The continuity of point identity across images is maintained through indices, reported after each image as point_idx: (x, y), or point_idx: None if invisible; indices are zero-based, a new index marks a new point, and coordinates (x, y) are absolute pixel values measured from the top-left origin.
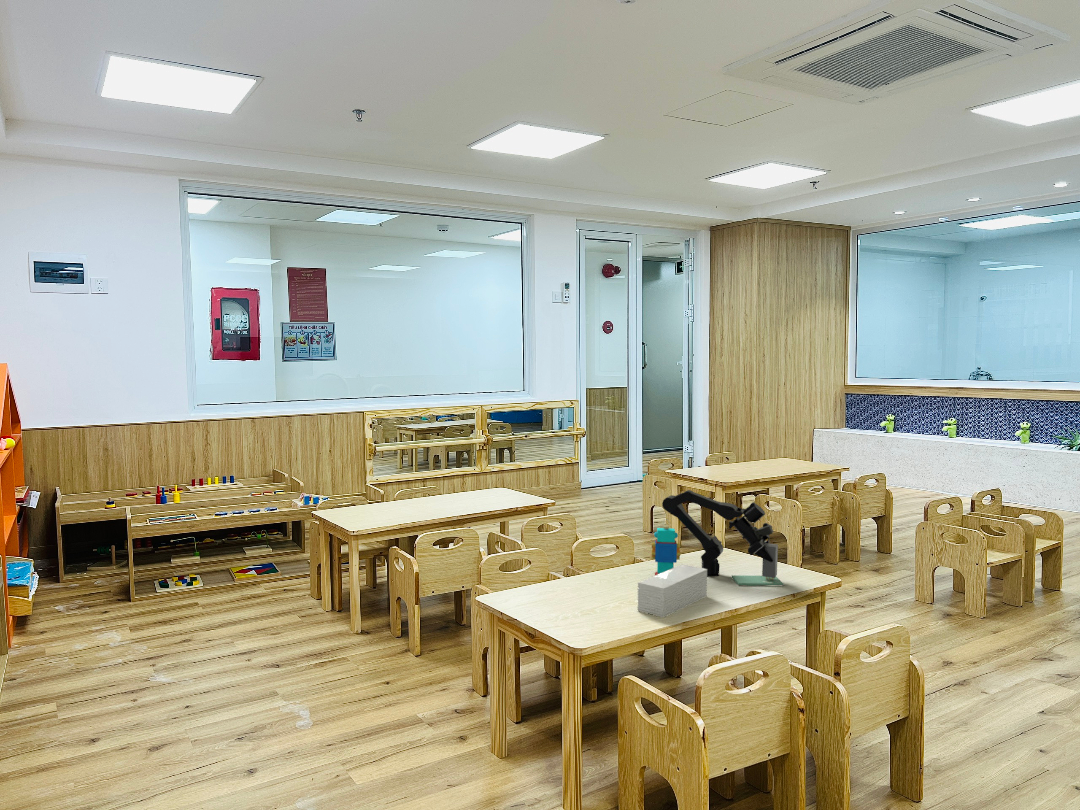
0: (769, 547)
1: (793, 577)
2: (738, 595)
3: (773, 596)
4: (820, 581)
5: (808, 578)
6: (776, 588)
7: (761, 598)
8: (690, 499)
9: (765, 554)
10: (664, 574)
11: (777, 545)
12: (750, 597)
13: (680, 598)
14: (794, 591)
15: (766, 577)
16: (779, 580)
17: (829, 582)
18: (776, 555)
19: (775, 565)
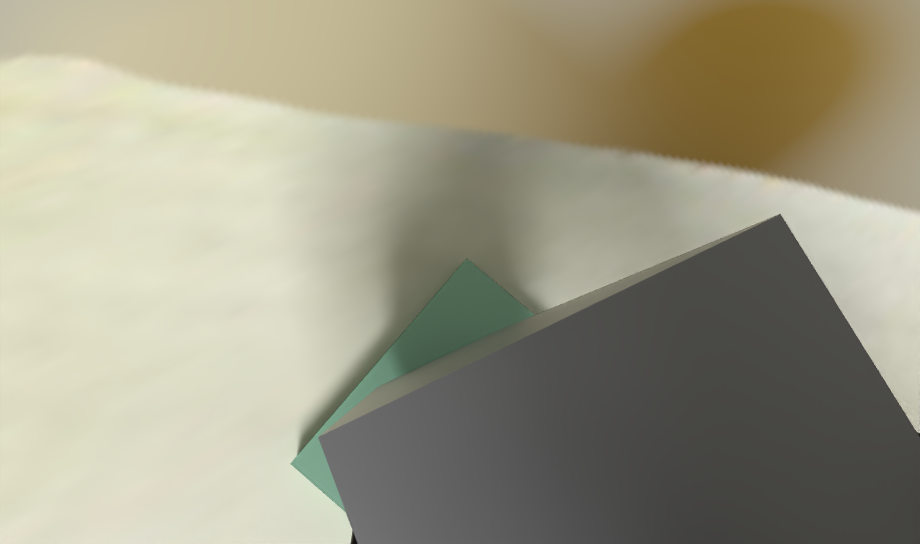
0: (874, 435)
1: (130, 353)
2: (887, 348)
3: (711, 188)
4: (83, 128)
5: (56, 240)
6: (557, 267)
7: (800, 216)
8: None
9: None
10: None
11: (445, 373)
12: (845, 272)
13: None
14: (511, 147)
15: None
16: (413, 332)
17: (58, 67)
18: (501, 335)
19: (521, 321)
